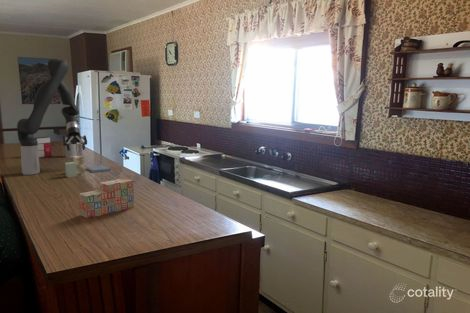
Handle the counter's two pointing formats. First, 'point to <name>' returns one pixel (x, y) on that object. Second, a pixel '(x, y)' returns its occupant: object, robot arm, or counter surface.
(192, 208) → the counter surface
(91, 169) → the slate board
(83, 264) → the counter surface
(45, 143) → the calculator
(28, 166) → the robot arm
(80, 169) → the birch block
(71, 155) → the glass holder
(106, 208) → the stack of blocks
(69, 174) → the sage block
